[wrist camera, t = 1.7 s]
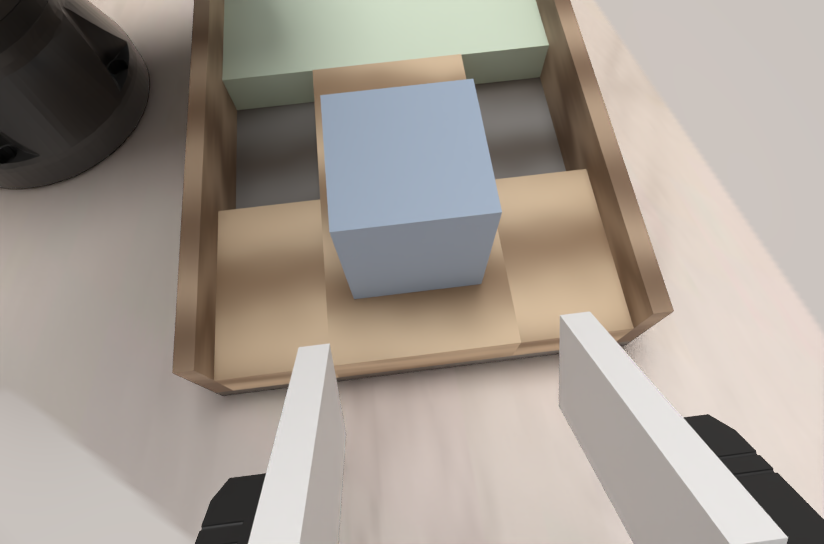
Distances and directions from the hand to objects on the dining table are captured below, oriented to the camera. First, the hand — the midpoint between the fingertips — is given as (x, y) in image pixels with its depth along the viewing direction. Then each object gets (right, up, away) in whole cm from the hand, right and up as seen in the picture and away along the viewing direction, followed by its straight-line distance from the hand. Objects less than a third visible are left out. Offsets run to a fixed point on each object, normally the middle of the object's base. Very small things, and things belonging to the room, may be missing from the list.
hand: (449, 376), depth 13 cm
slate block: (-1, +5, +17) cm, 17 cm away
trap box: (-2, +11, +23) cm, 26 cm away
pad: (-3, +20, +27) cm, 34 cm away
